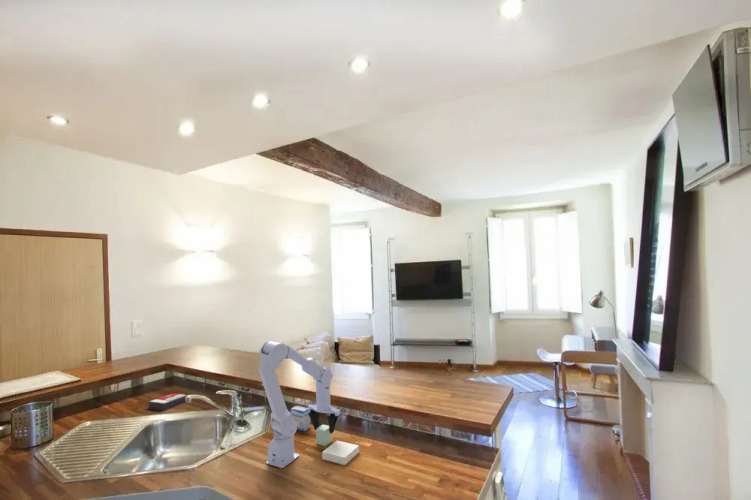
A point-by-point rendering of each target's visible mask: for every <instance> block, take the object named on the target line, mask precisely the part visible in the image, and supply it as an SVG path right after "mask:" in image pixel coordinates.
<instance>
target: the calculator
mask: <svg viewBox="0 0 751 500" xmlns="http://www.w3.org/2000/svg"><path fill="white" fill-rule="evenodd" d="M186 396H187V395H186V394H179V393H174V392H173V393H170V394H167V395H164V396H160V397H157V398H156V399H152V400H150V401H149V402H148V408H147V409H149V410H154V411H155V410H157V411H166V410H168V409H170V408H173V407H175V406H177V405H178V406H179V405H180V404H182V403H185V402H186V401H185V397H186ZM184 401H185V402H184Z"/></svg>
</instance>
